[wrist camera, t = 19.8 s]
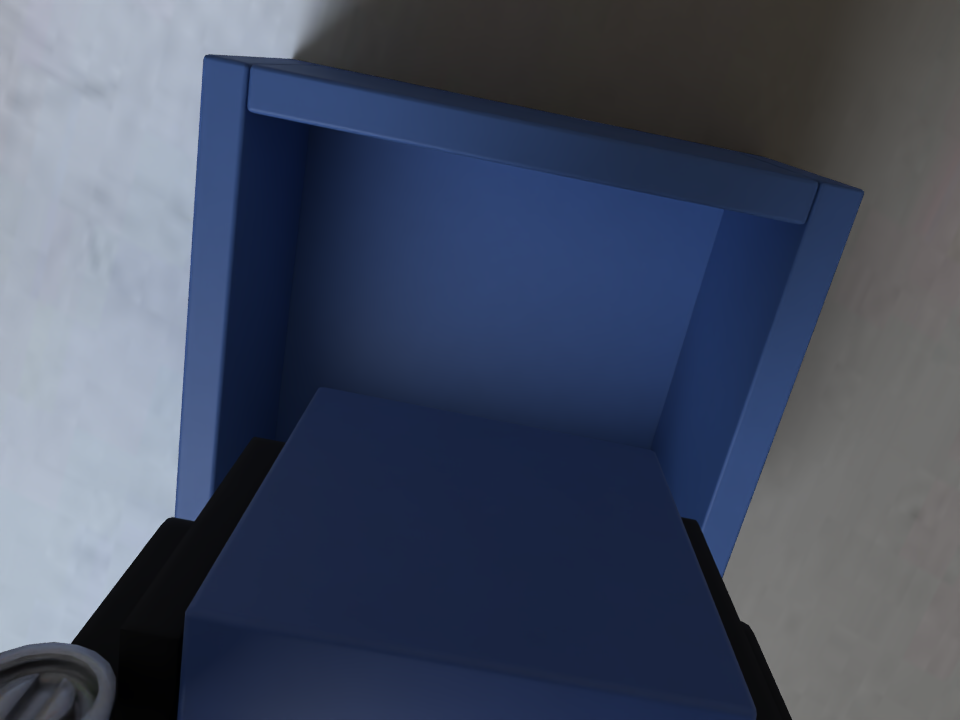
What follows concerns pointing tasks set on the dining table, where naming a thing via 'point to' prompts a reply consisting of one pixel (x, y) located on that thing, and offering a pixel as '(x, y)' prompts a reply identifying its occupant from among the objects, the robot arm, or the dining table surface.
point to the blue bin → (494, 275)
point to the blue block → (456, 581)
